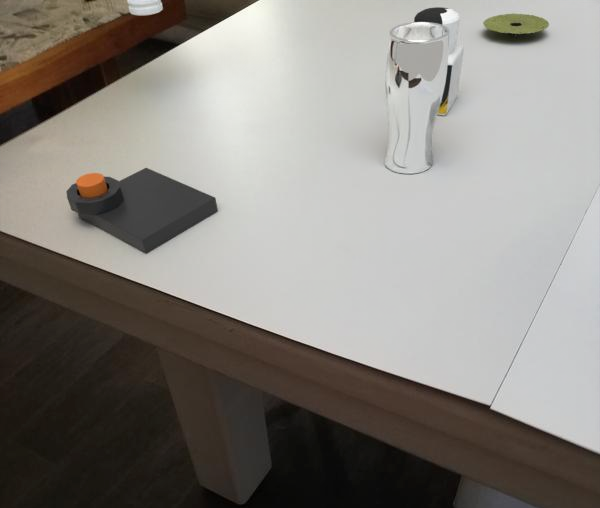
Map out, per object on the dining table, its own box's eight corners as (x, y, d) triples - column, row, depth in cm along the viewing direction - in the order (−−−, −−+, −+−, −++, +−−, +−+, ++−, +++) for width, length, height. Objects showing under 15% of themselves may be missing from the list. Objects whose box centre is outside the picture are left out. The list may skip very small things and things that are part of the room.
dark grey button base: (66, 219, 71) (56, 192, 68) (144, 179, 77) (137, 152, 74) (138, 259, 64) (130, 231, 62) (218, 212, 70) (213, 184, 68)
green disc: (468, 35, 107) (469, 23, 105) (508, 21, 111) (511, 9, 110) (518, 50, 101) (521, 37, 99) (559, 34, 105) (562, 21, 103)
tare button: (74, 193, 69) (70, 181, 68) (97, 182, 70) (93, 170, 69) (90, 201, 67) (86, 189, 66) (113, 190, 69) (109, 177, 68)
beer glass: (369, 163, 76) (374, 32, 65) (407, 145, 79) (417, 17, 68) (409, 181, 72) (421, 46, 61) (447, 162, 75) (465, 29, 64)
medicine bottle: (397, 111, 87) (404, 17, 78) (411, 92, 91) (418, 2, 82) (445, 116, 84) (458, 20, 76) (457, 97, 89) (470, 4, 80)
